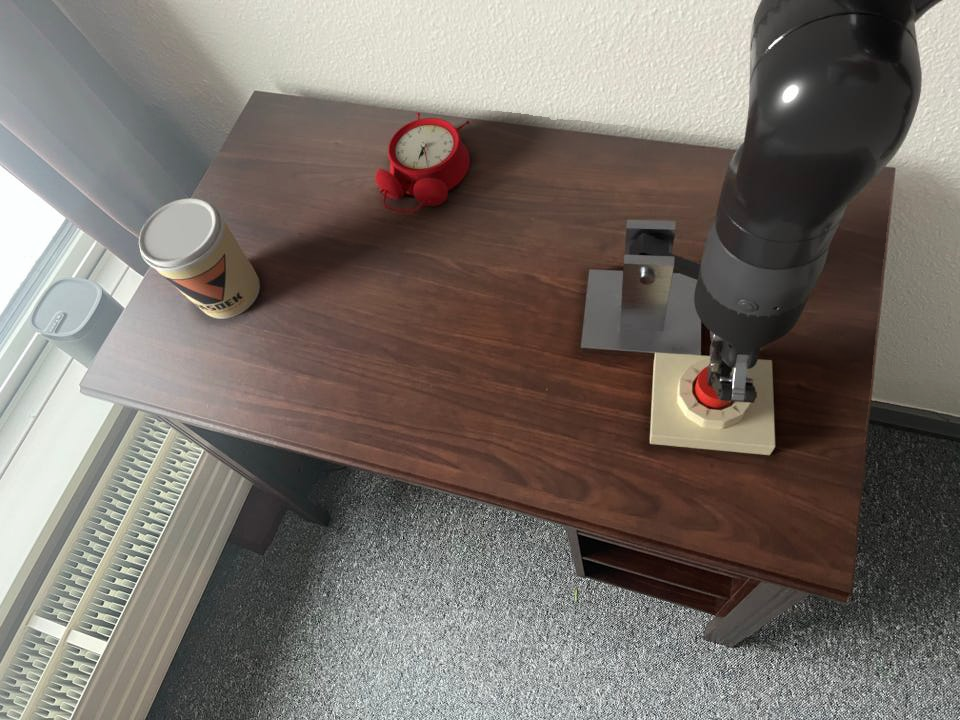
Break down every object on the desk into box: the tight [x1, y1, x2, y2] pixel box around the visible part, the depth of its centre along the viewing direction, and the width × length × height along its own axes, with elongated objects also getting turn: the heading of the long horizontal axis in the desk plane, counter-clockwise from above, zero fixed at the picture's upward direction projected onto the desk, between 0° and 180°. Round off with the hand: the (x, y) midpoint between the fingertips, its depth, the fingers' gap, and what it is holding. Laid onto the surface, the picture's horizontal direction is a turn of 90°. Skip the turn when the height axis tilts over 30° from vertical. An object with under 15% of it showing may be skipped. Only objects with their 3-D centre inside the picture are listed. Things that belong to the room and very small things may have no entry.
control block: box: [649, 352, 776, 456], centre depth 65 cm, size 11×9×4 cm
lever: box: [629, 233, 701, 280], centre depth 64 cm, size 14×3×3 cm, turn 81°
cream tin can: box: [138, 197, 261, 320], centre depth 77 cm, size 9×9×12 cm
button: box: [695, 366, 732, 408], centre depth 63 cm, size 4×4×2 cm
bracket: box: [580, 219, 702, 359], centre depth 67 cm, size 12×10×13 cm
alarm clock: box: [374, 112, 471, 214], centre depth 85 cm, size 10×6×15 cm
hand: (719, 379), depth 61 cm, fingers closed
